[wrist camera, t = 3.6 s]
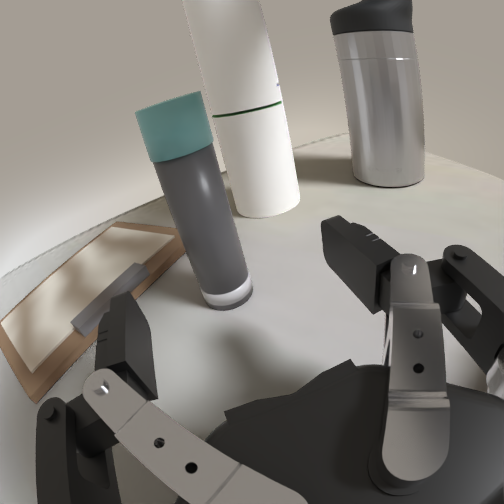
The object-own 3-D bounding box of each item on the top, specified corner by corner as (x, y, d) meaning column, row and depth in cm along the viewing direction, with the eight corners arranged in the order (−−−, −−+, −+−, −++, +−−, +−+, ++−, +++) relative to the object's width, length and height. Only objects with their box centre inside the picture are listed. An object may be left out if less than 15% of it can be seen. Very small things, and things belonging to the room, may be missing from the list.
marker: (222, 272, 25) (167, 99, 17) (263, 281, 23) (213, 87, 15) (194, 304, 22) (122, 117, 15) (236, 316, 20) (166, 102, 13)
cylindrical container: (302, 186, 36) (258, -19, 22) (297, 215, 30) (242, -37, 16) (244, 191, 38) (195, -2, 24) (229, 220, 32) (166, -12, 18)
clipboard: (118, 226, 38) (113, 215, 37) (200, 237, 30) (195, 222, 29) (-5, 334, 24) (-14, 323, 23) (36, 403, 16) (20, 390, 15)
